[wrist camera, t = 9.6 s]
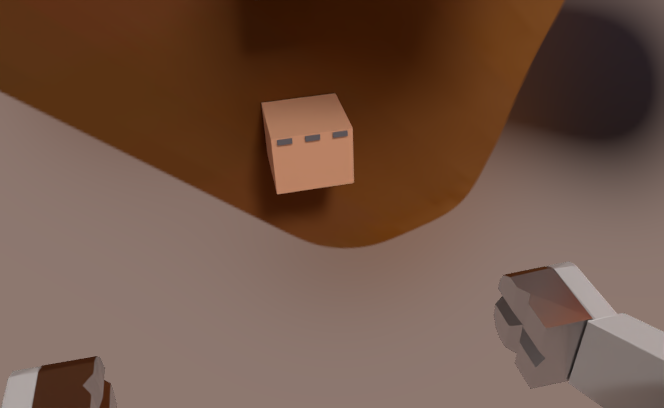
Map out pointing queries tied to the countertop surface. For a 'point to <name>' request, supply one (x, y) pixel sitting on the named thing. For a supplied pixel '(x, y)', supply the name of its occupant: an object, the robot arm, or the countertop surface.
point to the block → (308, 143)
